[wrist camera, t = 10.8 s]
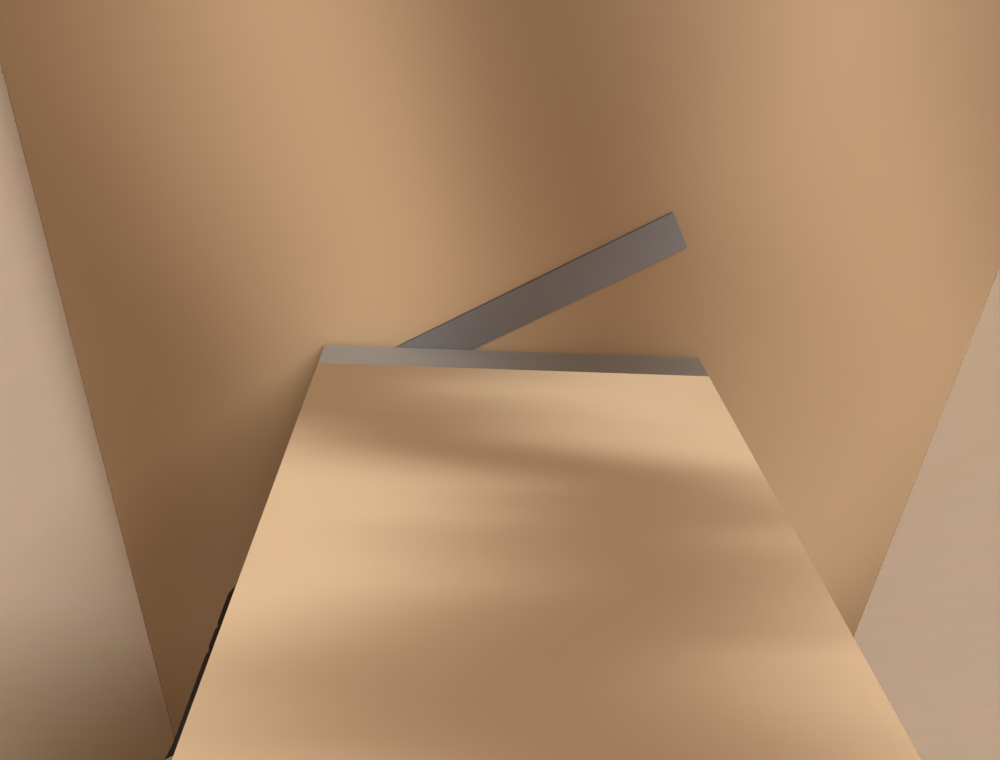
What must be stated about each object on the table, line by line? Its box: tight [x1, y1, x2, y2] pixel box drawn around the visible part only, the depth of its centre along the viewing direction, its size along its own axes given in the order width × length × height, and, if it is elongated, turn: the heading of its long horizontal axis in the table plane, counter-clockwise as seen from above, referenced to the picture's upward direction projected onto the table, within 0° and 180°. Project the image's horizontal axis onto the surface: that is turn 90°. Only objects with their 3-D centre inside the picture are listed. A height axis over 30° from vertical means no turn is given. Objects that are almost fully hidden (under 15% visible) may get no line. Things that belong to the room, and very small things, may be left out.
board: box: [0, 0, 1000, 738], centre depth 13 cm, size 12×26×2 cm, turn 177°
